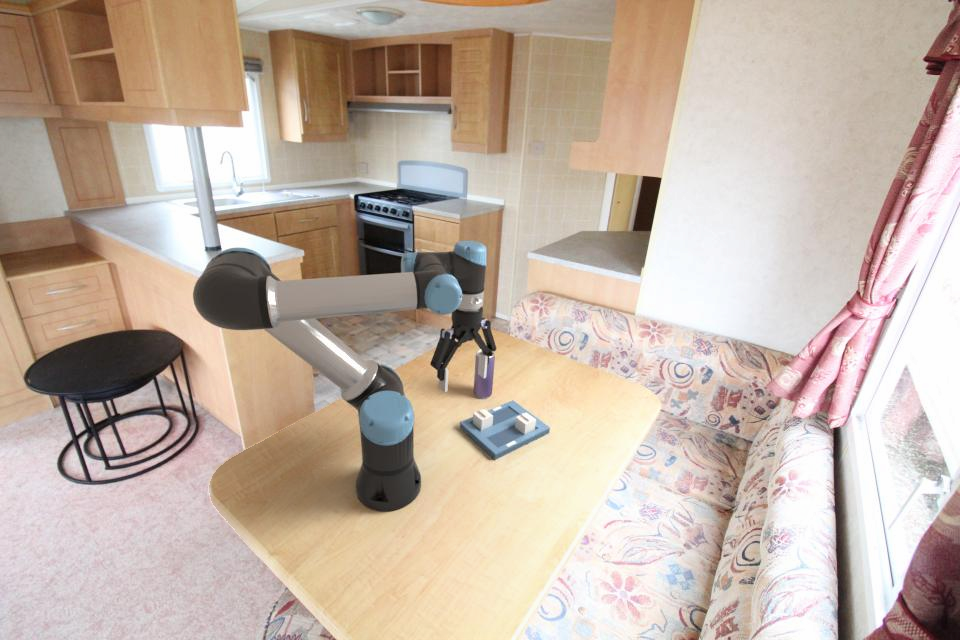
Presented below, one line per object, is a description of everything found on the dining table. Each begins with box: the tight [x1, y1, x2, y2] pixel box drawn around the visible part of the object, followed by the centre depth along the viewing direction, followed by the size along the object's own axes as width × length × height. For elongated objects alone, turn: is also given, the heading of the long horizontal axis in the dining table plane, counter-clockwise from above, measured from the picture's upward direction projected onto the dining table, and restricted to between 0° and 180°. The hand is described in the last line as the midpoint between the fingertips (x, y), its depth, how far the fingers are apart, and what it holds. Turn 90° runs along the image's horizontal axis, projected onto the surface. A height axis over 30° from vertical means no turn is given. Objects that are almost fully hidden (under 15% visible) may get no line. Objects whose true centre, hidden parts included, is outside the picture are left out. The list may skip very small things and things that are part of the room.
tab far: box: [472, 408, 493, 431], centre depth 131 cm, size 4×4×4 cm
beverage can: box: [473, 349, 496, 400], centre depth 145 cm, size 6×6×15 cm
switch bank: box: [459, 399, 551, 461], centre depth 132 cm, size 20×16×2 cm
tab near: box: [515, 412, 536, 435], centre depth 130 cm, size 4×4×4 cm
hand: (463, 382), depth 121 cm, fingers open, 12 cm apart
